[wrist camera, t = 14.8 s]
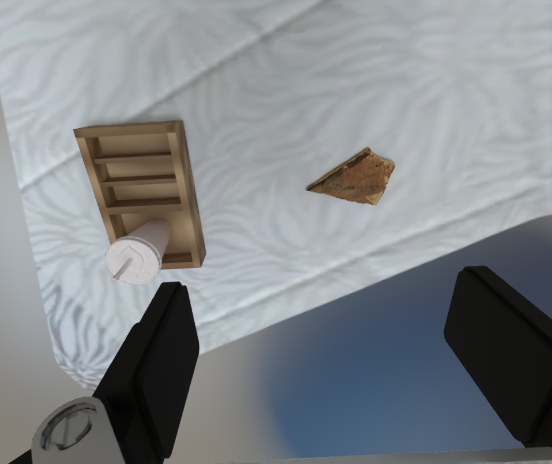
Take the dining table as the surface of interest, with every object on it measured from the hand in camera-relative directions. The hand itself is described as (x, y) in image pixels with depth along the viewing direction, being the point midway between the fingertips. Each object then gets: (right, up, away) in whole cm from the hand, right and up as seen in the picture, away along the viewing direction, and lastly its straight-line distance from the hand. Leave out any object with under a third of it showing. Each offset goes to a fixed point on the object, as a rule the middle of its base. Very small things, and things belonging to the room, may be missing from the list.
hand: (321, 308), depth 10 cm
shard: (+10, +10, +33) cm, 36 cm away
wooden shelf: (-19, +8, +33) cm, 39 cm away
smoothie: (-19, +3, +34) cm, 39 cm away
